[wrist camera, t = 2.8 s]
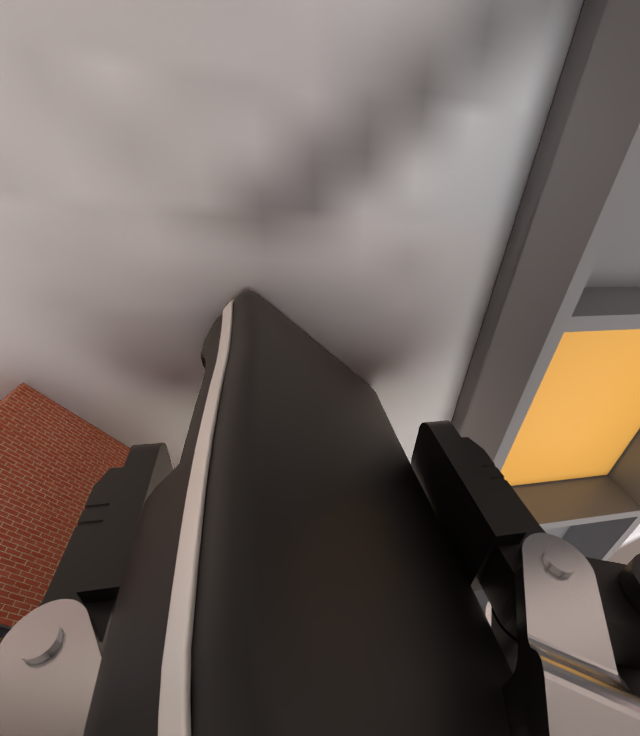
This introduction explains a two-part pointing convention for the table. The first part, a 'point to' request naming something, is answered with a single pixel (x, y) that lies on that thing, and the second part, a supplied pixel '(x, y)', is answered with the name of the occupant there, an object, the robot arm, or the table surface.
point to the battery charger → (293, 567)
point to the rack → (572, 305)
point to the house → (42, 492)
